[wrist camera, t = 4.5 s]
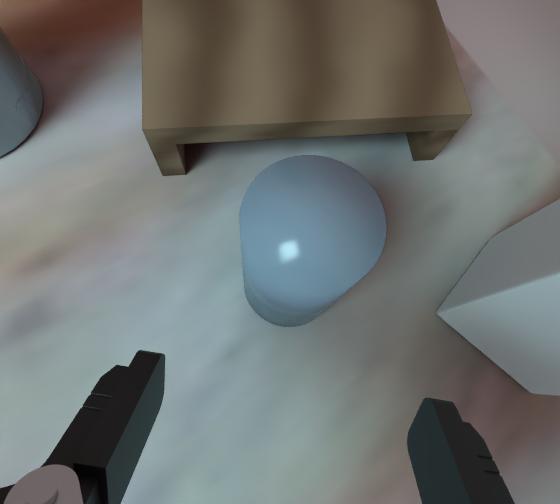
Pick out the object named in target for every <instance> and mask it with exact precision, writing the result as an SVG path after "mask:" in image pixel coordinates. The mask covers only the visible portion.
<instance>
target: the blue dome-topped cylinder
mask: <svg viewBox="0 0 560 504" xmlns="http://www.w3.org/2000/svg"><path fill="white" fill-rule="evenodd" d="M386 233H387V223H386V216H385V212H384V208H383V205H382V203H381V200H380V198H379V196H378V194H377V193H376V191H375V189H374V188H373V187H372V186H371V184H370V183H369V182H368V181H367V180H366V179H365V178H364V177H363V176H362V175H361V174H360V173H358V172H357V171H356V170H354V169H353V168H351V167H350V166H348V165H346V164H344V163H342V162H340V161H337V160H334V159H332V158H328V157H323V156H316V155H302V156H294V157H290V158H286V159H284V160H281V161H278V162H276V163H274V164H272V165H271V166H269V167H268V168H266V169H265V170H263V171H262V172H261V173H260V174H259V175H258V176H257V177H256V178H255V179H254V180H253V182H252V183H251V184H250V186H249V188H248V189H247V191H246V193H245V195H244V198H243V201H242V204H241V209H240V237H241V251H242V264H243V278H244V289H245V294H246V297H247V300H248V302H249V304H250V305H251V307H252V309H253V310H254V311H255V312H256V313H257V314H258V315H259V316H260V317H261V318H263V319H264V320H266V321H268V322H269V323H272V324H274V325H278V326H283V327H295V326H300V325H303V324H306V323H308V322H310V321H312V320H313V319H315V318H316V317H317V316H318V315H320V314H321V313H322V312H323V311H324V310H325V309H327V308H328V307H329V306H330V305H331V304H332V303H333V302H335V301H336V300H337V299H338V298H339V297H340V296H342V295H343V294H344V293H345V292H346V291H347V290H349V289H350V288H351V287H352V286H353V285H354V284H356V283H357V282H358V281H359V280H360V279H361V278H363V277H364V276H365V275H366V274H367V273H368V272H369V271H370V270H371V269H372V268H373V266H374V265H375V264H376V262H377V261H378V259H379V257H380V255H381V253H382V251H383V248H384V244H385V240H386Z"/></svg>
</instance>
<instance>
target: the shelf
mask: <svg viewBox="0 0 560 504" xmlns="http://www.w3.org/2000/svg"><path fill="white" fill-rule="evenodd" d="M471 115H472V112H471V109H470V105H469V102H468V99H467V96H466V93H465V90H464V87H463V83H462V80H461V77H460V74H459V71H458V68H457V64H456V61H455V58H454V55H453V52H452V49H451V46H450V42H449V39H448V36H447V33H446V30H445V27H444V23H443V20H442V17H441V14H440V11H439V8H438V5H437V1H436V0H142V130H143V132H144V134H145V137H146V139H147V141H148V144H149V146H150V148H151V150H152V153H153V155H154V157H155V159H156V162H157V164H158V166H159V168H160V171H161V173H162V175H163V176H170V175H186V168H185V144H188V143H207V142H227V141H246V140H265V139H284V138H304V137H323V136H342V135H362V134H381V133H400V132H406V134H407V138H408V142H409V146H410V150H411V154H412V158H413V161H418V160H433V159H434V158H435V157H436V156H437V154H438V153H439V152H440V151H441V150H442V149H443V147H444V146H445V145H446V144H447V143H448V142H449V140H450V139H451V138H452V137H453V136H454V134H455V133H456V132H457V131H458V130H459V129H460V127H461V126H462V125H463V124H464V123H465V122H466V120H467V119H468V118H469V117H470V116H471Z"/></svg>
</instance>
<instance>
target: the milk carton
mask: <svg viewBox="0 0 560 504" xmlns="http://www.w3.org/2000/svg"><path fill="white" fill-rule="evenodd" d="M436 314H437V315H438V316H439V317H441V318H442V319H443V320H444V321H445V322H446V323H448V324H449V325H450V326H451V327H452V328H454V329H455V330H456V331H457V332H458V333H460V334H461V335H462V336H463V337H464V338H466V339H467V340H468V341H469V342H470V343H472V344H473V345H474V346H475V347H476V348H477V349H479V350H480V351H481V352H482V353H483V354H485V355H486V356H487V357H488V358H489V359H491V360H492V361H493V362H494V363H495V364H497V365H498V366H499V367H500V368H501V369H503V370H504V371H505V372H506V373H507V374H509V375H510V376H511V377H512V378H513V379H514V380H516V381H517V382H518V383H519V384H520V385H522V386H523V387H524V388H525V389H526V390H528V391H529V392H530V393H532V394H544V395H559V396H560V199H558V200H556V201H554V202H553V203H551V204H549V205H547V206H546V207H544V208H542V209H540V210H539V211H537V212H535V213H533V214H532V215H530V216H528V217H526V218H525V219H523V220H521V221H519V222H518V223H516V224H514V225H512V226H510V227H509V228H507V229H505V230H503V231H502V232H500V233H498V234H496V235H495V236H493V237H492V238H491V239H490V240H489V241H488V243H487V244H486V245H485V247H484V248H483V249H482V251H481V252H480V253H479V255H478V256H477V257H476V259H475V260H474V261H473V263H472V264H471V265H470V267H469V268H468V269H467V271H466V272H465V273H464V275H463V276H462V277H461V279H460V280H459V281H458V283H457V284H456V285H455V287H454V288H453V289H452V291H451V292H450V294H449V295H448V296H447V298H446V299H445V300H444V302H443V303H442V304H441V306H440V307H439V309H438V310H437V312H436Z"/></svg>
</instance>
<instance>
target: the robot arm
mask: <svg viewBox="0 0 560 504" xmlns="http://www.w3.org/2000/svg"><path fill="white" fill-rule="evenodd" d="M42 107H43V93H42V90H41V86H40V83H39V81H38V80H37V78H36V77H35V75H34V74H33V72H32V71H31V70H30V68H29V67H28V65H27V64H26V62H25V60H24V59H23V57H22V56H21V55H20V54H19V53H18V52H17V50H16V49H15V48H14V46H13V45H12V43H11V42H10V41H9V39H8V38H7V36H6V35H5V33H4V32H3V31H2V29H1V27H0V157H1V156H2V155H4V154H6V153H7V152H9V151H11V150H13V149H14V148H15V147H17V146H18V145H19V144H20V143H21V142H22V141H24V140H25V139H26V138H27V136H28V135H29V134H30V133H31V131H32V130H33V129H34V128H35V126H36V124H37V122H38V120H39V118H40V115H41V111H42ZM164 381H165V355H164V354H161V353H155V352H149V351H143V350H139V351H138V352H137V353H136V355H135V357H134V358H133V360H132V362H131V363H130V365H129V367H126V366H120V365H116V366H115V367H113V368H112V369H111V370H110V371H108V372H107V373H106V374H104V375H103V376H102V377H101V378H100V380H99V381H98V383H97V384H96V386H95V387H94V389H93V390H92V392H91V395H89V396H88V398H87V400H86V401H85V403H84V404H83V407H82V408H81V409H80V410H79V412H78V413H77V415H76V416H75V418H74V419H73V421H72V423H71V424H70V426H69V427H68V429H67V430H66V432H65V433H64V435H63V436H62V438H61V439H60V441H59V443H58V444H57V446H56V447H55V449H54V450H53V452H52V453H51V455H50V456H49V458H48V459H47V461H46V462H45V463H44V464H43V465H42V466H41V467H40V468H38V469H36V470H33V471H32V472H30V473H28V474H27V475H25V476H24V477H23V478H21V479H20V480H19V481H18V482H17V483H16V484H13V485H10V486H8V487H4V488H0V504H120V503H121V501H122V499H123V496H124V494H125V491H126V489H127V487H128V484H129V482H130V480H131V477H132V475H133V472H134V470H135V468H136V465H137V463H138V460H139V458H140V456H141V453H142V451H143V448H144V446H145V444H146V441H147V439H148V436H149V434H150V432H151V429H152V427H153V424H154V422H155V420H156V417H157V415H158V413H159V410H160V407H161V404H162V400H163V395H164ZM407 446H408V452H409V456H410V460H411V463H412V467H413V471H414V474H415V478H416V482H417V485H418V489H419V493H420V496H421V500H422V504H515V503H514V501H513V499H512V497H511V495H510V493H509V491H508V489H507V487H506V485H505V483H504V481H503V479H502V477H501V476H500V475H499V473H500V472H499V470H498V468H497V466H496V464H495V462H494V461H492V456H491V454H490V452H489V450H488V448H487V446H486V443H485V441H484V439H483V438H482V437H481V436H480V435H479V434H478V432H477V431H476V430H475V429H474V428H473V427H472V425H471V424H470V423H467V422H462V419H461V417H460V415H459V413H458V410H457V408H456V406H455V405H454V403H453V402H451V401H445V400H438V399H432V398H425V399H424V400H423V402H422V404H421V406H420V408H419V410H418V412H417V414H416V416H415V418H414V421H413V423H412V425H411V427H410V429H409V432H408V438H407Z"/></svg>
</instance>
